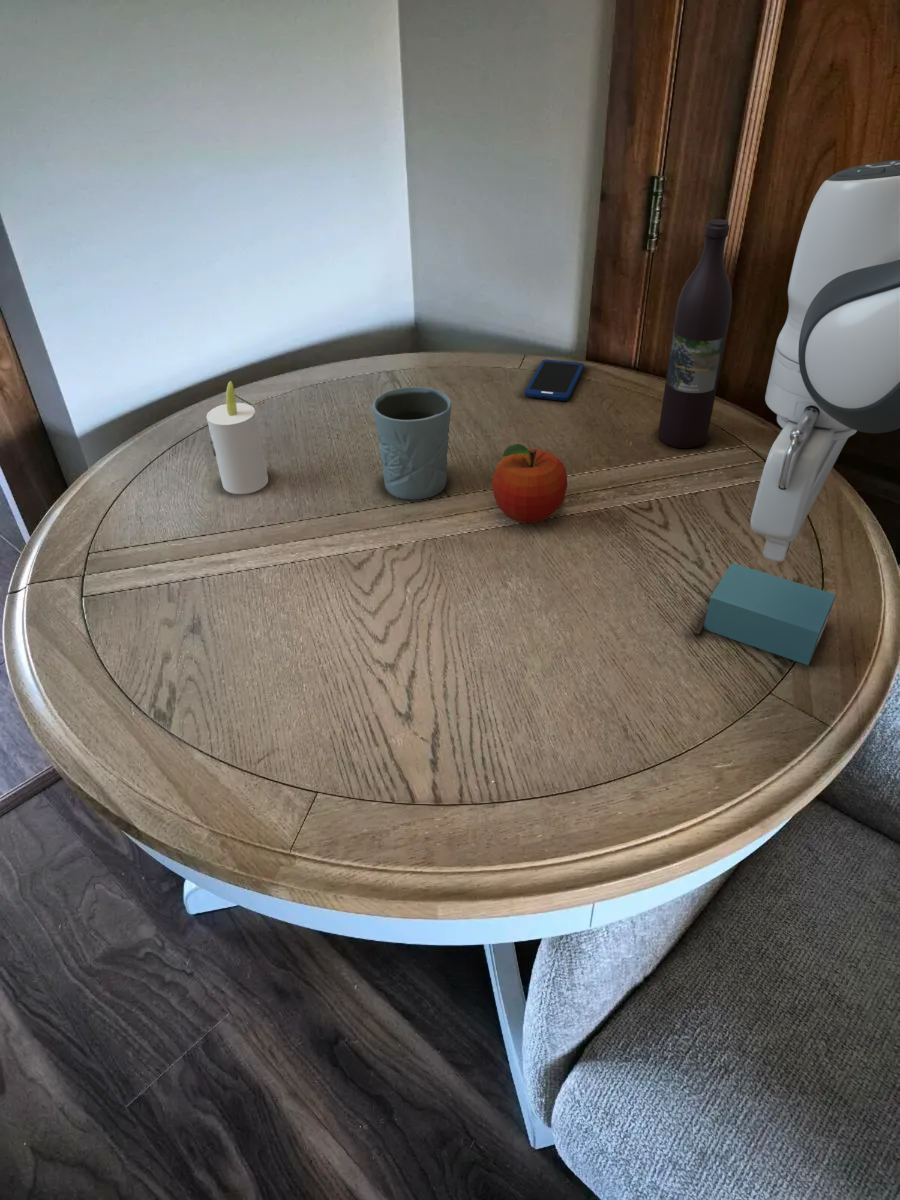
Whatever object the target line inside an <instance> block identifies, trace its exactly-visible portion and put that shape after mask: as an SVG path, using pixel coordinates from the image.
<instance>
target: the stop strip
mask: <svg viewBox="0 0 900 1200" xmlns="http://www.w3.org/2000/svg"><path fill="white" fill-rule="evenodd" d="M707 611H708V608H707V609H706V611H705V612H704V614H703V615H702V618H701V619H700V620H699V622H698V624H697V625H696V627H695V629H694V631H693V635H692V636H694V637H697V638H699V637H700V635H701V633H702V632H703V630H704V624H705V620H706V615H707Z"/></svg>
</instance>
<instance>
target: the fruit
mask: <svg viewBox="0 0 900 1200" xmlns="http://www.w3.org/2000/svg"><path fill="white" fill-rule="evenodd" d="M502 456H503V458H502V459H500V461H498V463H497V466H496V467H495V469H494V472H493V474H492V478H491V485H492V491H493V492H492V494H493V498H494V500H495V503H496V505H497V506H498V508H499V510H500V511H501V512H502V513H503V515H504V516H506V517H507V518H509V519H510V520H512V521H515V522H518V523H523V524H524V523H525V524H530V523H533V524H534V523H539V522H542V521H545V520H547V519H549V518H550V517H551V516H552V515H554V514H555V513H556V511H558V510H559V508H560V507H561V505H562V503H563V502H564V500H565V496H566V493H567V489H568V475H567V469H566V466H565V465H564V463H563V462H562V461H561V460H560V459H559V458H558V456H556V455H555V454H554V453H552V452H550V451H548V450H543V449H538V448H537V449H535V448H527V447H526V446H525V445H522V444H520V443H515V444H512V445H508V447H506V449H504V452H503V454H502Z"/></svg>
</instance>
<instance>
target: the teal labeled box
mask: <svg viewBox="0 0 900 1200" xmlns="http://www.w3.org/2000/svg"><path fill="white" fill-rule="evenodd" d="M836 597H837V594H835V593H832V592H829V591H825V590H823V589H820V588H816V587H812V586H809V585H806V584H804V583H799V582H796V581H793V580H790V579H787V578H783V577H780V576H777V575H775V574H770V573H766V572H764V571H761V570H758V569H753V568H751V567H747V566H744V565H741V564H738V563H735V562H731V563H730V564H729V566H728V568H727V569H726V571H725V573H724V574H723V575H722V578H721V579H720V581H719V583H718V584H717V586H716V588H715V589H714V591H713V592H712V593H711V596H710V598H709V603H708V607H707V609H708V611H707V610H706V611H707V615H706V620H705V624H704V629H703V630H704V631H707V632H711V633H712V634H716V635H720V636H722V637H724V638H728V639H731V640H734V641H737V642H738V643H742V644H745V645H747V646H751V647H753V648H756V649H759V650H762V651H765V652H768V653H771V654H774V655H776V656H779V657H782V658H785V659H788V660H791V661H794V662H797V663H799V664H803V665H805V666H809V664H810V663H811V661H812V658H813V655H814V653H815V651H816V649H817V647H818V644H819V642H820V639H821V637H822V635H823V633H824V630H825V628H826V625H827V623H828V620H829V617H830V614H831V611H832V608H833V605H834V602H835V600H836Z"/></svg>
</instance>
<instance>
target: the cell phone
mask: <svg viewBox="0 0 900 1200" xmlns="http://www.w3.org/2000/svg"><path fill="white" fill-rule="evenodd" d="M584 368H585V364H584V363H583V362H578V361H577V362H576V361H566V360H559V359H558V360H557V359H543V360H541V362H540V364H539V365H538V367H537V369H536V370H535V373H534V375H532V377H531V379H530V381H529V383H528V384H527V387H526V388H525V391H524V396H525V397H527V398H534V399H542V400H543V399H544V400H553V401H562V402H568V401H569V400H570V398H571V396H572V394H573V392H574V390H575V388H576V386H577V383H578V382H579V379H580V377H581V375H582V373H583V371H584Z"/></svg>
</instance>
